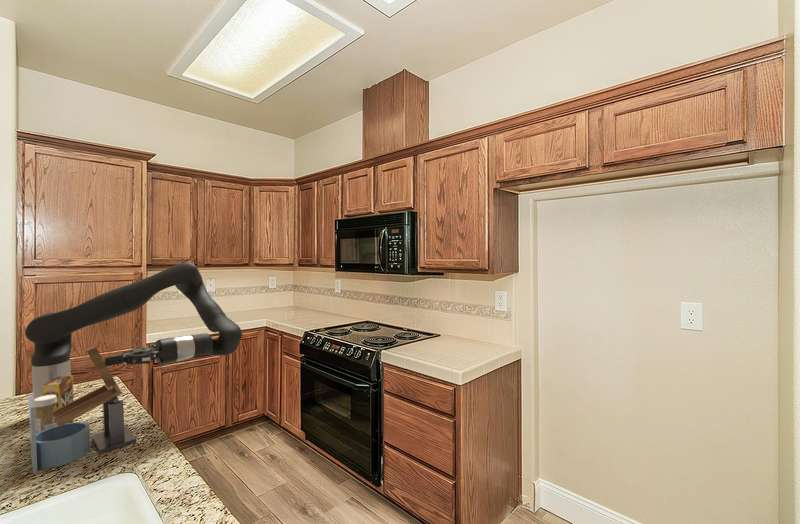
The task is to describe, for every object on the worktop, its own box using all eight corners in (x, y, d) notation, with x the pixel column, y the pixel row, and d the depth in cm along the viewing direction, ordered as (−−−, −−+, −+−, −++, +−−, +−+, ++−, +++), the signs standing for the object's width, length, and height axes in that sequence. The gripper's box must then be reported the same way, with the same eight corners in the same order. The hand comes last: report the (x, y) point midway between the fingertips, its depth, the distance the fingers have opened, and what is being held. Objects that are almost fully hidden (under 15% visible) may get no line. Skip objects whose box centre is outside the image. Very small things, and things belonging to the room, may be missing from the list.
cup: (31, 457, 97) (28, 396, 96) (86, 441, 105) (83, 384, 105) (33, 474, 89) (30, 408, 89) (92, 455, 97) (90, 394, 97)
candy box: (61, 435, 108) (58, 383, 108) (42, 438, 107) (39, 385, 107) (75, 422, 117) (73, 374, 116) (58, 425, 115) (56, 376, 115)
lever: (59, 423, 99) (27, 373, 95) (119, 391, 109) (93, 344, 104) (61, 431, 95) (28, 379, 90) (124, 397, 104) (97, 348, 100)
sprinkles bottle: (56, 446, 102) (54, 397, 102) (33, 451, 100) (31, 401, 100) (60, 439, 106) (58, 392, 106) (38, 444, 104) (36, 396, 103)
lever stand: (92, 438, 106) (90, 393, 106) (126, 428, 112) (125, 385, 112) (99, 454, 98) (97, 404, 98) (136, 442, 104) (134, 395, 104)
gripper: (168, 334, 121) (100, 344, 108) (181, 340, 112) (109, 352, 99) (169, 357, 121) (101, 370, 108) (182, 365, 112) (110, 380, 99)
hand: (105, 361), depth 104 cm, fingers closed
